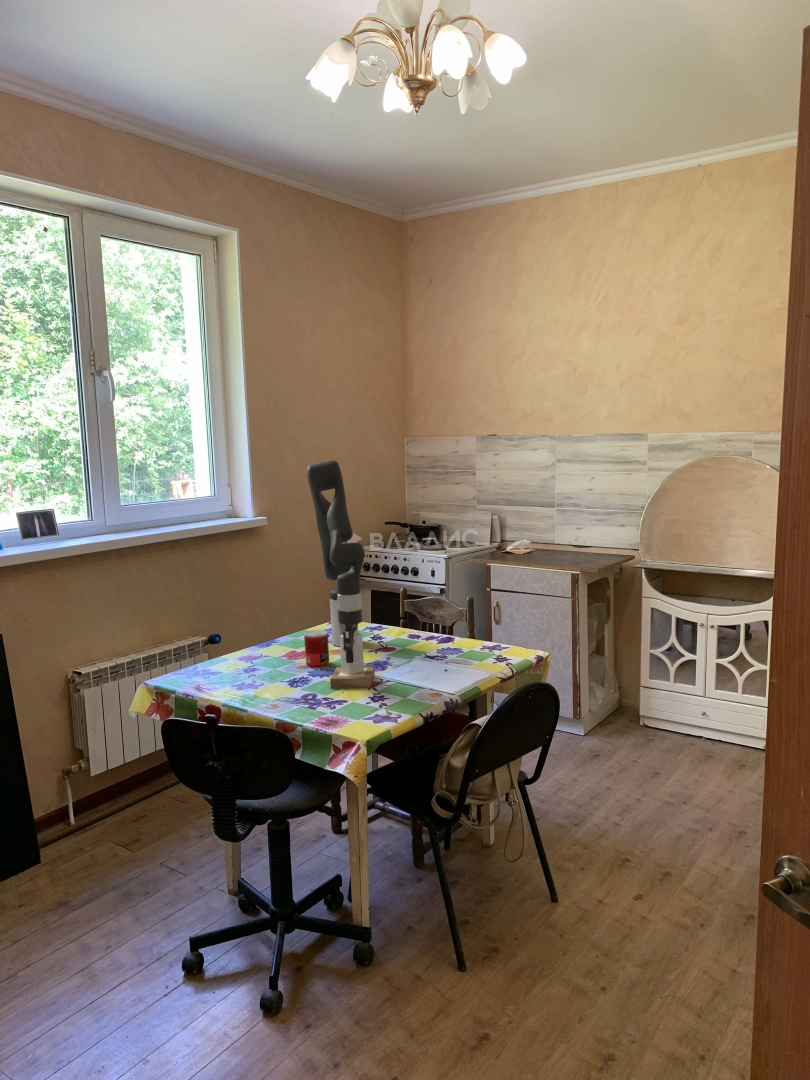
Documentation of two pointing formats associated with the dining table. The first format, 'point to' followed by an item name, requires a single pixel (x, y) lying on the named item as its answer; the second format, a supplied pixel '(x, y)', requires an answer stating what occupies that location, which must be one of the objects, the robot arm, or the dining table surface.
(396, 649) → the dining table surface
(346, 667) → the skincare box
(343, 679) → the base slab
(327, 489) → the robot arm
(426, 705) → the dining table surface
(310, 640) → the canned food
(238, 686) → the dining table surface
